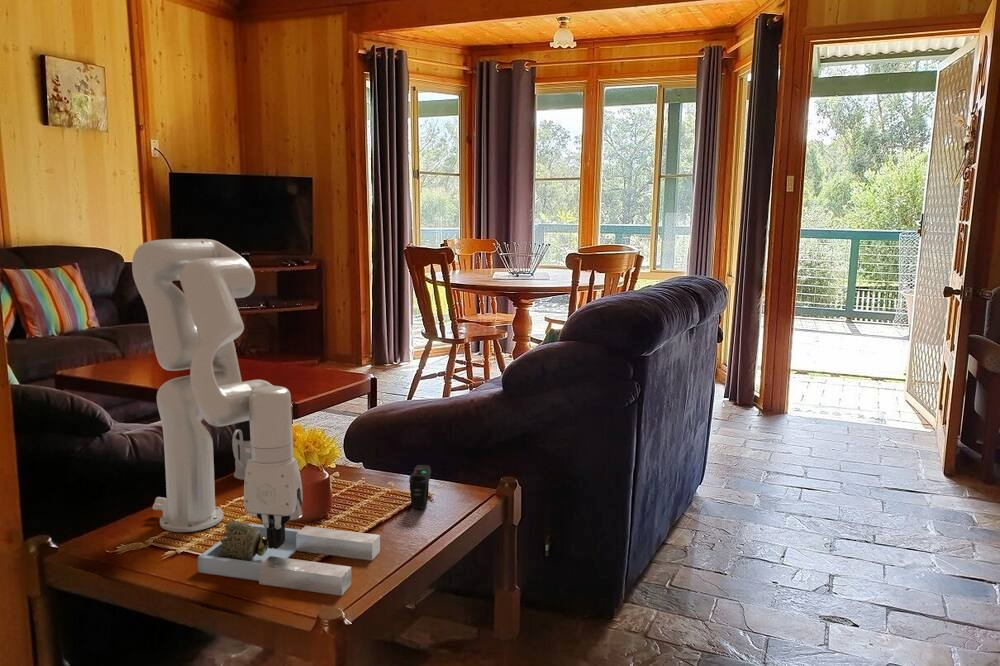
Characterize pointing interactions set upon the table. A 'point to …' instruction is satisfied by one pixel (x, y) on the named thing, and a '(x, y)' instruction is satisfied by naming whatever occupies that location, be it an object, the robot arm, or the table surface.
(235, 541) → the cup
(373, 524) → the table surface
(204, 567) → the tray
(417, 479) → the controller
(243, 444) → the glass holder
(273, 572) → the groove rails
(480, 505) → the table surface
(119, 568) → the table surface
